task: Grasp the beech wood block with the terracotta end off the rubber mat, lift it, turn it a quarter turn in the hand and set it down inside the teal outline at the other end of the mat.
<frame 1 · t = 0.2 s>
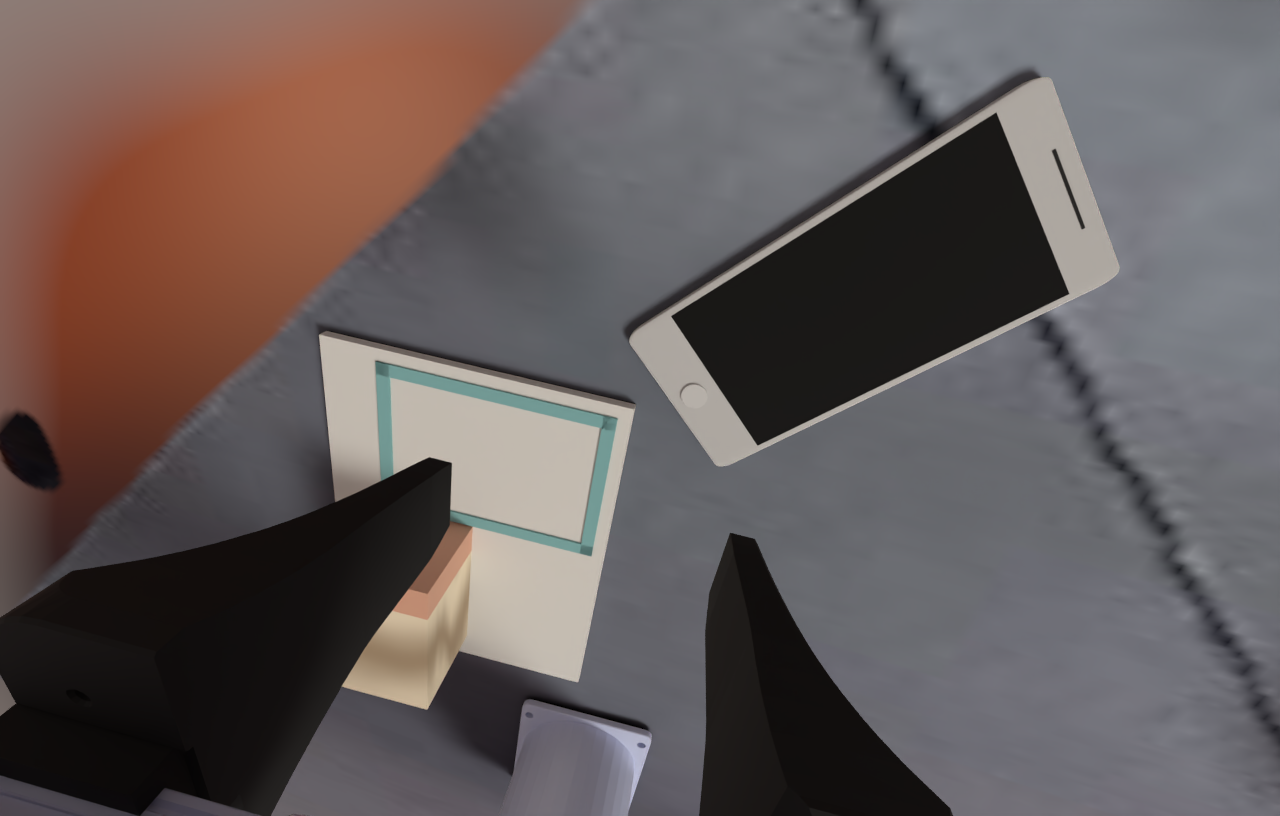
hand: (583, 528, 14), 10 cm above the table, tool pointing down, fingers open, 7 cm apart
block: (428, 573, 29), resting on mat
smartphone: (846, 301, 20), on the table
mat: (470, 526, 27), on the table
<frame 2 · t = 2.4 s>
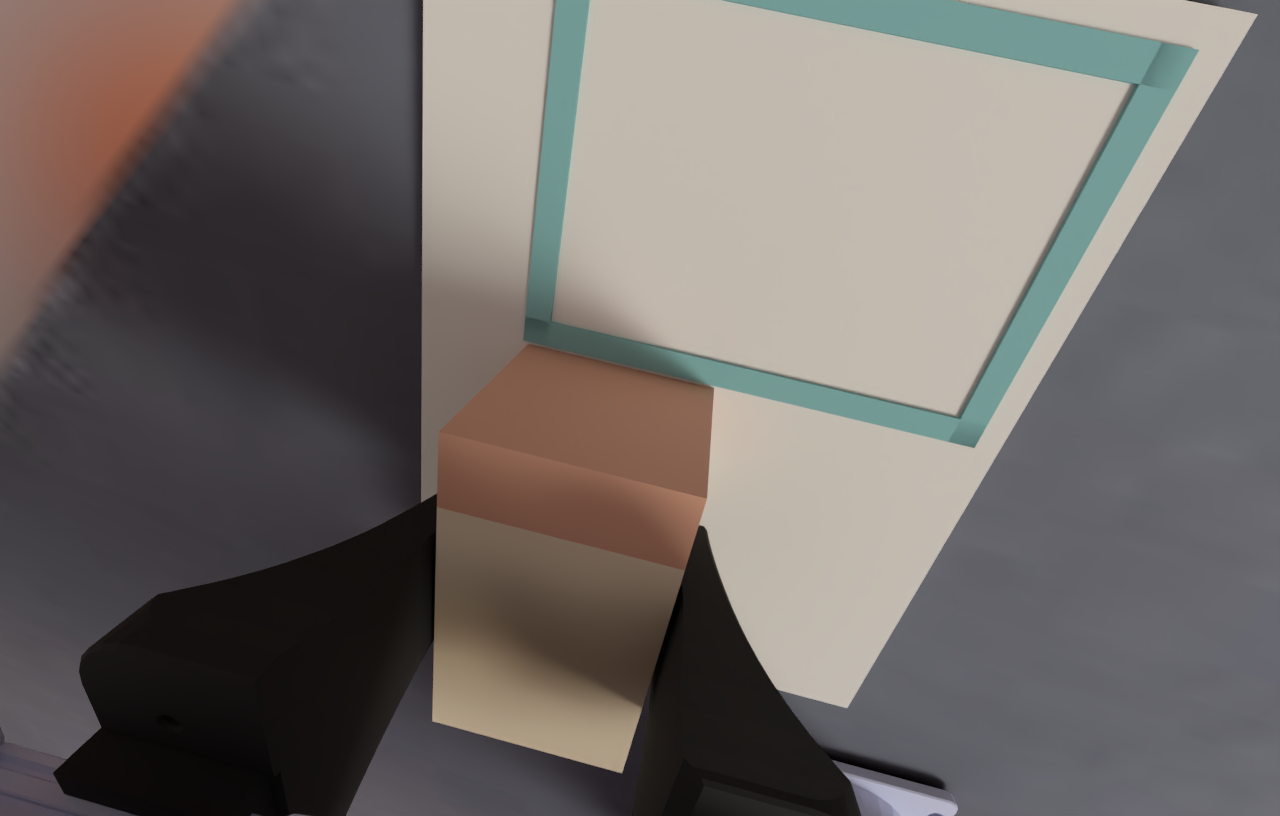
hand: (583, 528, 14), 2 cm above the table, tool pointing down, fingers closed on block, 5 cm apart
block: (595, 498, 15), resting on mat, touching gripper
mat: (697, 395, 13), on the table
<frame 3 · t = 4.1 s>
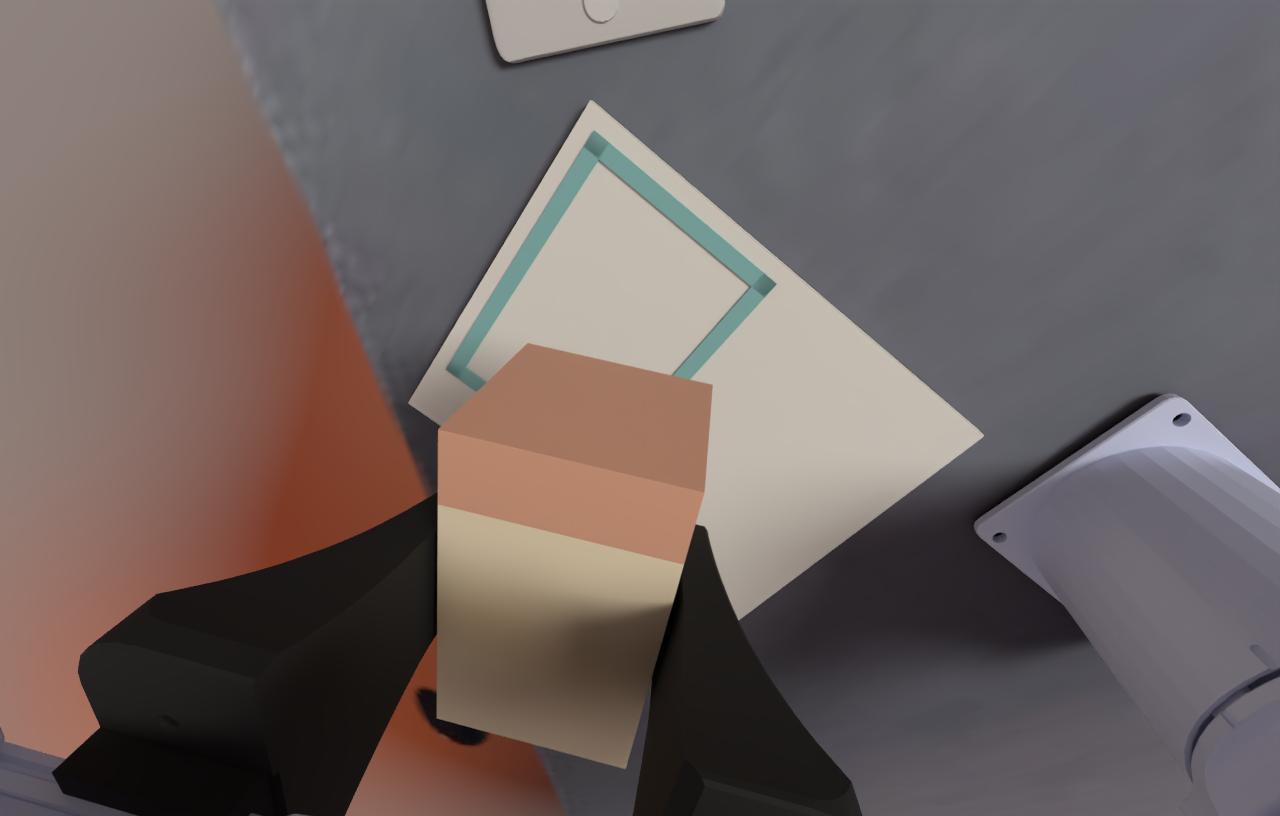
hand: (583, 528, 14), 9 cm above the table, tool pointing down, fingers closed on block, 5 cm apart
block: (596, 496, 15), point 8 cm above the table, touching gripper
mat: (675, 412, 22), on the table
when the fingers open (3 cm above the table, at t = 6.0 s): block stays where it is, resting on mat.
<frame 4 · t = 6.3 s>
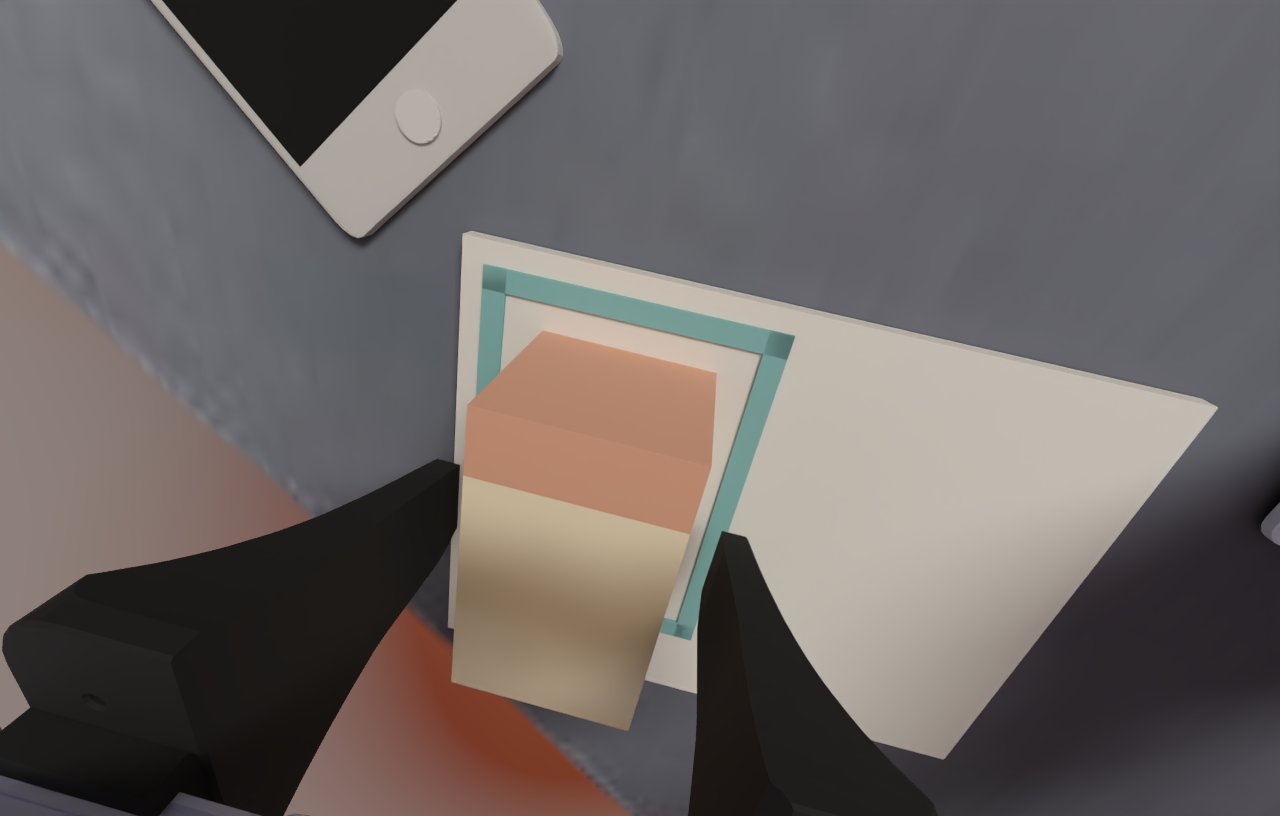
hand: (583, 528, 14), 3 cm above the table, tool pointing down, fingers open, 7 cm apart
block: (603, 477, 16), resting on mat
mat: (744, 531, 16), on the table
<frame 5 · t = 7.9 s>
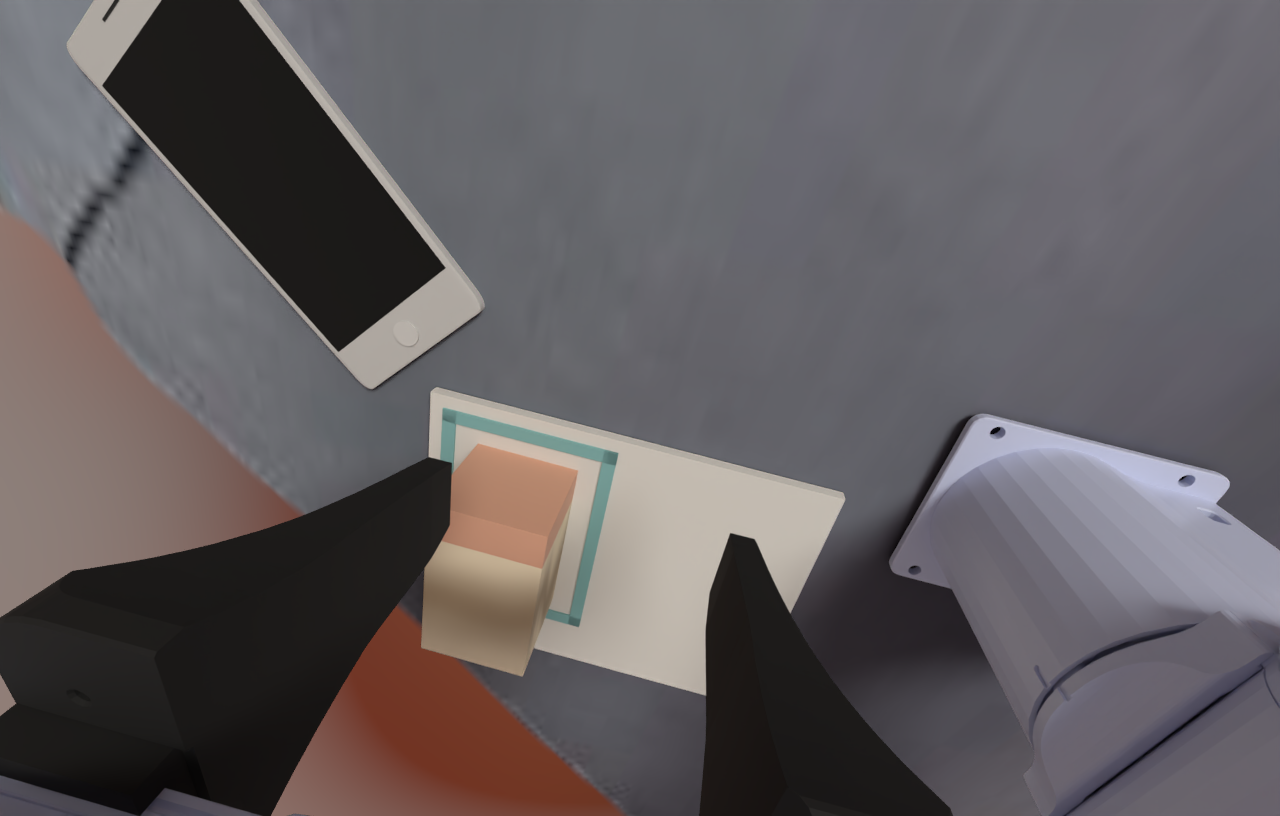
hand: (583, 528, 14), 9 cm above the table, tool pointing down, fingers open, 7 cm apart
block: (517, 526, 25), resting on mat
smartphone: (303, 183, 21), on the table
mat: (607, 559, 26), on the table
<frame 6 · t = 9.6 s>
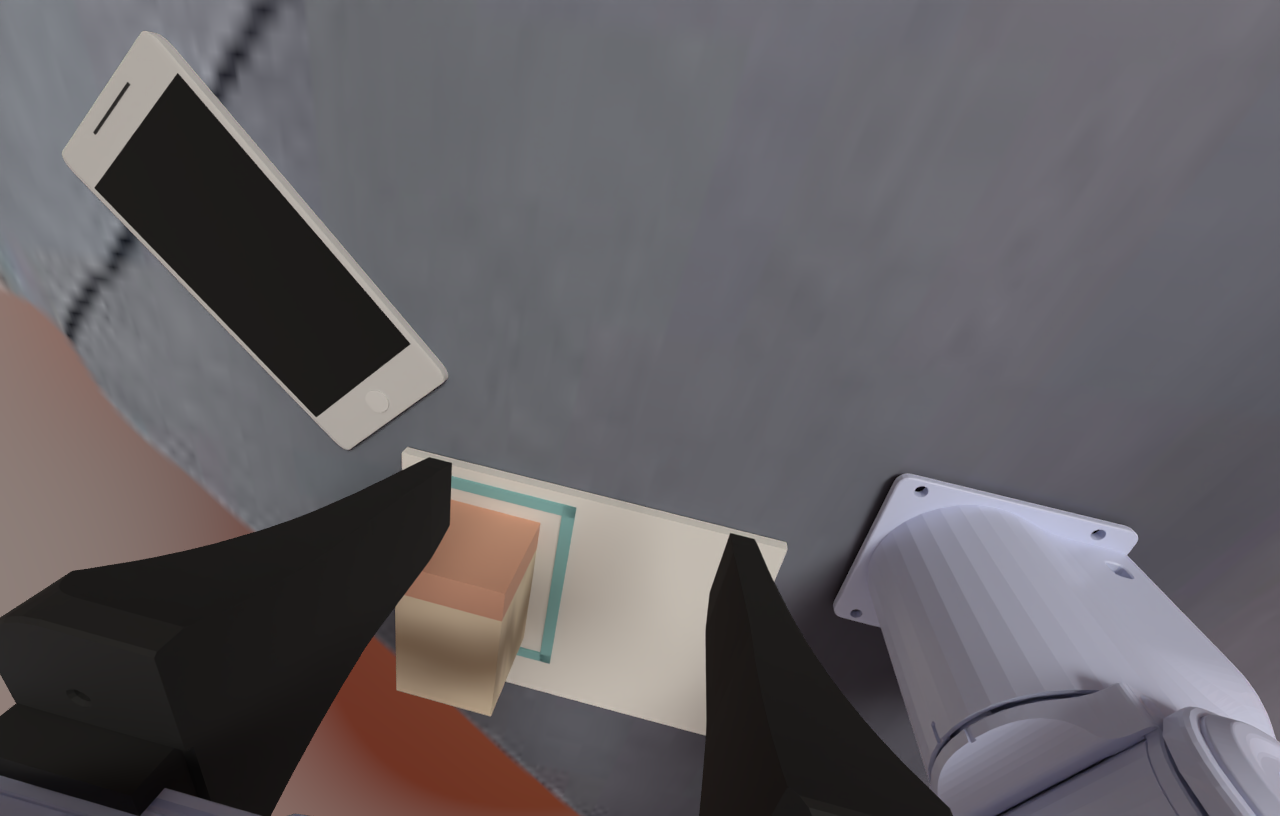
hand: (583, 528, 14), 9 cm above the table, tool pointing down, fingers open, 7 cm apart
block: (487, 572, 27), resting on mat
smartphone: (279, 267, 23), on the table
mat: (573, 601, 28), on the table
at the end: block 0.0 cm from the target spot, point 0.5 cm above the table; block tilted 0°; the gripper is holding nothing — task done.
